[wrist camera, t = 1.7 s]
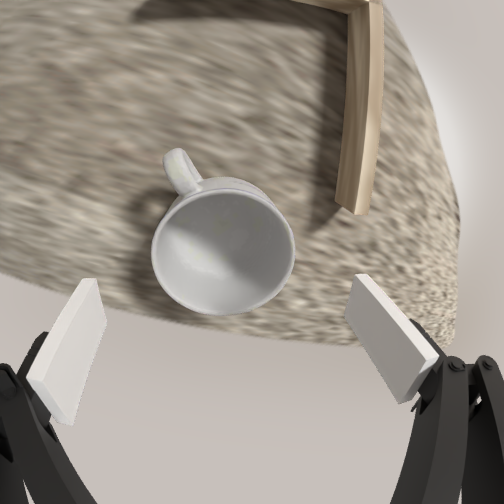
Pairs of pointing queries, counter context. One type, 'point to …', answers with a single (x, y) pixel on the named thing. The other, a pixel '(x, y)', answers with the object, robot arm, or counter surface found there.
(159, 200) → the counter surface
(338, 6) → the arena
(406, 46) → the counter surface
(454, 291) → the counter surface
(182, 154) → the teacup
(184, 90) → the counter surface
